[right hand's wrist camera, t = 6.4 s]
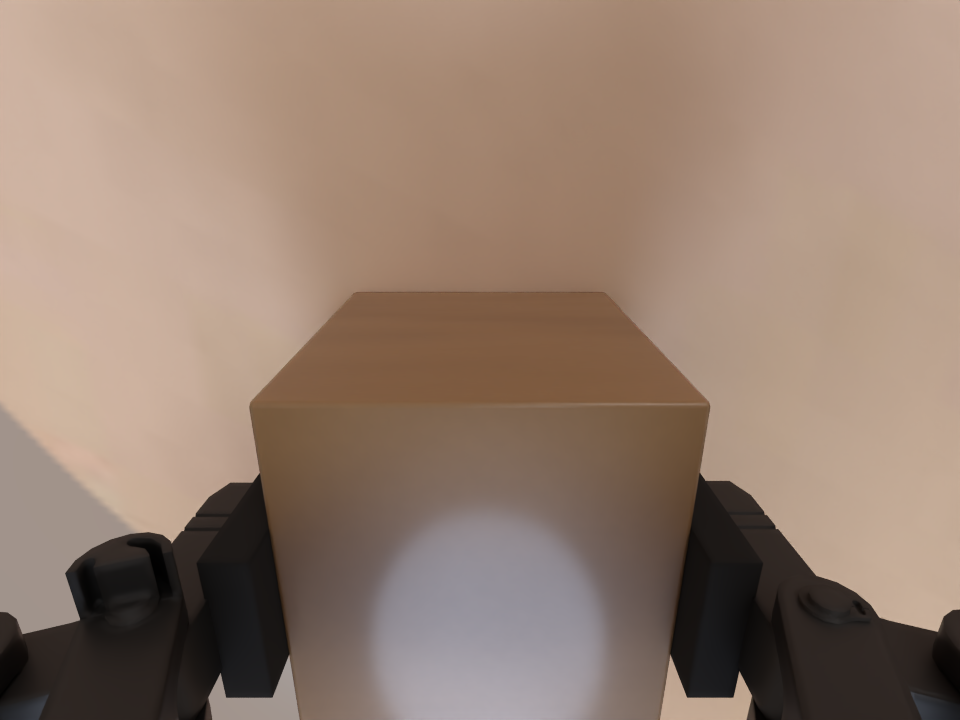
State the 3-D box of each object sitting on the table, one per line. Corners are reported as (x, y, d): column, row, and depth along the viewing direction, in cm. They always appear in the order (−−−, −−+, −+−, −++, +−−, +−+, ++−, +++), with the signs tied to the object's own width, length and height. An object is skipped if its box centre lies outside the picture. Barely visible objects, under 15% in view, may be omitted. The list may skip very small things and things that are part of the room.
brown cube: (587, 514, 17) (658, 743, 10) (372, 514, 17) (301, 744, 10) (605, 291, 15) (713, 402, 8) (353, 291, 15) (245, 402, 8)
